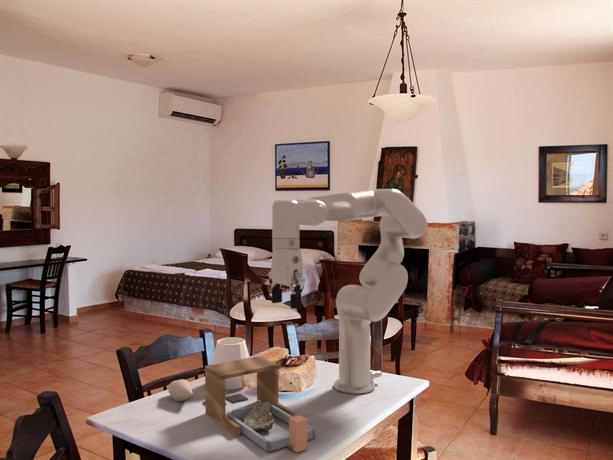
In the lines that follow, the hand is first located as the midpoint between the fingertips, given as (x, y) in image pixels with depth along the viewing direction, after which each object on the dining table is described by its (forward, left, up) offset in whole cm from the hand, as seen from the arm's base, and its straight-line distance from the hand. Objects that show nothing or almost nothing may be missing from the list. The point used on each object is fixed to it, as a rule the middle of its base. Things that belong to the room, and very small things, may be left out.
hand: (286, 305), depth 154 cm
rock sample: (+15, +10, -29) cm, 34 cm away
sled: (+13, +15, -28) cm, 34 cm away
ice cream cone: (+23, -19, -29) cm, 41 cm away
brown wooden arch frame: (+13, -2, -28) cm, 31 cm away
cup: (+5, -24, -28) cm, 38 cm away
